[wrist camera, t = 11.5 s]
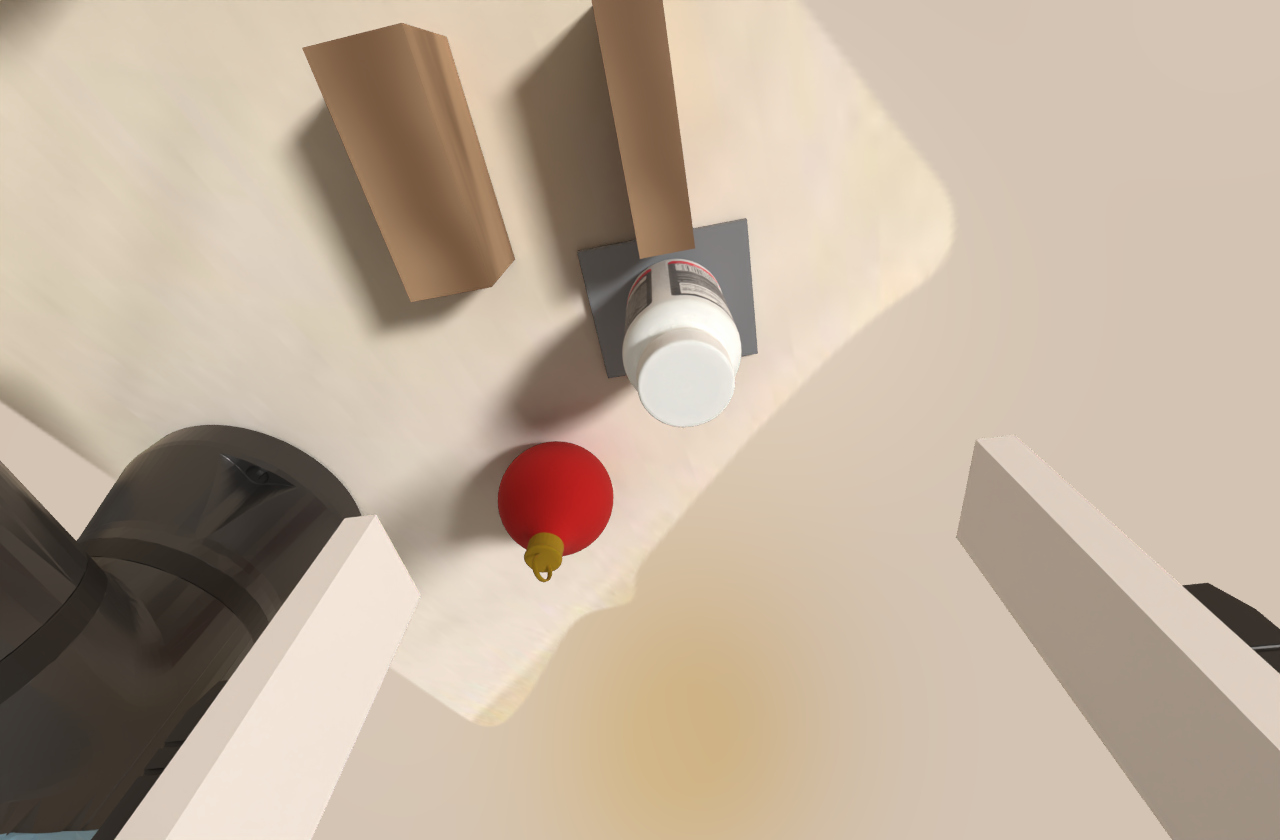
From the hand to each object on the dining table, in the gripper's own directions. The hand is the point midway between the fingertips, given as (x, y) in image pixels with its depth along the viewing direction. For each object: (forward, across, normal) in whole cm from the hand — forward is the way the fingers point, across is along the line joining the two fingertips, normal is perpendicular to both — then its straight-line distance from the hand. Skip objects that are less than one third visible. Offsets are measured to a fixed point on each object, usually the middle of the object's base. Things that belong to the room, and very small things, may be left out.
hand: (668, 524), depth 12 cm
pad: (+20, +1, -2) cm, 20 cm away
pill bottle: (+20, +1, -2) cm, 20 cm away
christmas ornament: (+20, -8, -12) cm, 25 cm away
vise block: (+20, -4, +7) cm, 22 cm away
